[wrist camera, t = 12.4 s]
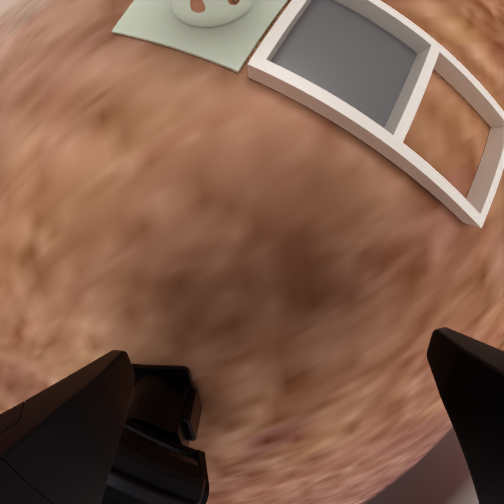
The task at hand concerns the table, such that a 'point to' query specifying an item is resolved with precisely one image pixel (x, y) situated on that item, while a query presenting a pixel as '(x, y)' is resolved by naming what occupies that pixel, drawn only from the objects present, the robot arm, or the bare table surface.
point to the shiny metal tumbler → (209, 11)
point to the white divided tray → (342, 75)
